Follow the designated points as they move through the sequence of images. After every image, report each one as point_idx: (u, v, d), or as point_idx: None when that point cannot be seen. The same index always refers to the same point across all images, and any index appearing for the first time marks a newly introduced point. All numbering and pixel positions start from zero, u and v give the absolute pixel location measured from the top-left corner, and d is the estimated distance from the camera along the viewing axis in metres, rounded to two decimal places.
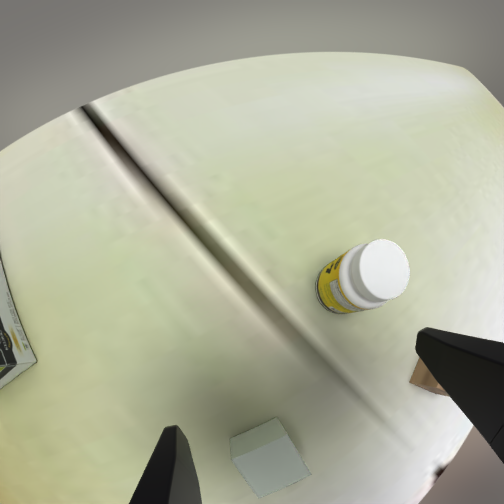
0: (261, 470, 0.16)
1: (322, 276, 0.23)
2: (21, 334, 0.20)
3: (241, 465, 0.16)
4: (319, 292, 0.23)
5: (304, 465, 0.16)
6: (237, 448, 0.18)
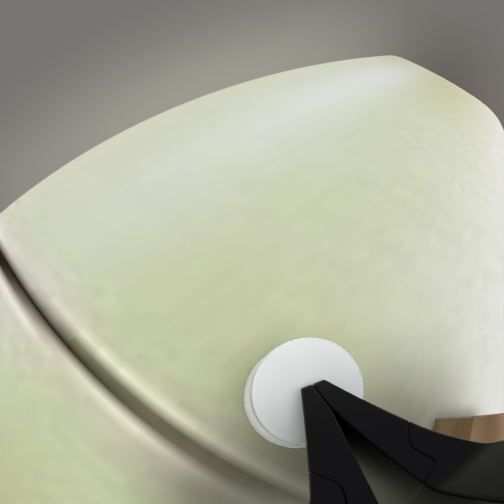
0: None
1: None
2: None
3: None
4: None
5: None
6: None
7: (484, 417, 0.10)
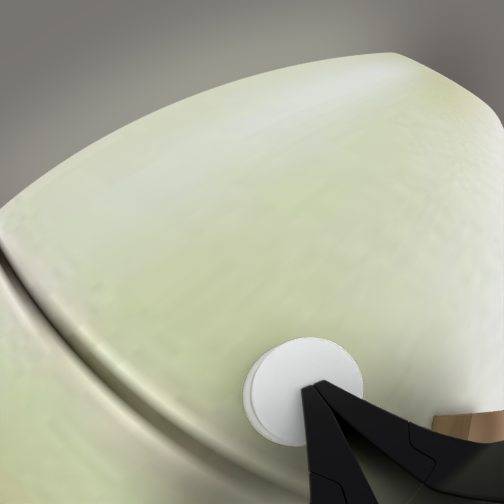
0: None
1: None
2: None
3: None
4: None
5: None
6: None
7: (482, 414, 0.11)
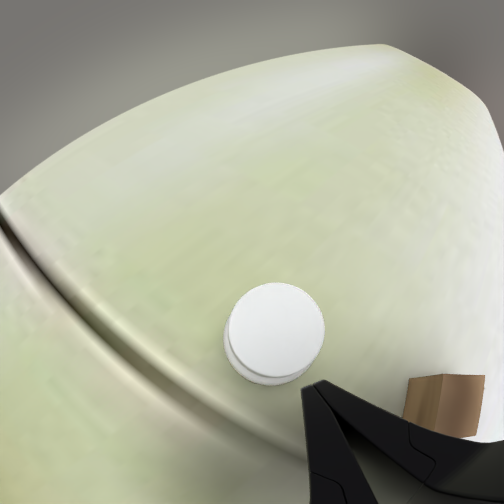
0: None
1: None
2: None
3: None
4: None
5: None
6: None
7: (455, 375, 0.14)
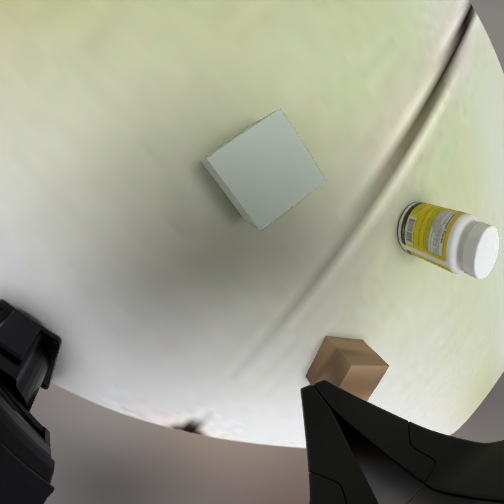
0: (267, 152, 0.13)
1: (434, 205, 0.20)
2: None
3: (272, 123, 0.13)
4: (419, 205, 0.21)
5: (277, 215, 0.14)
6: None
7: (382, 376, 0.21)
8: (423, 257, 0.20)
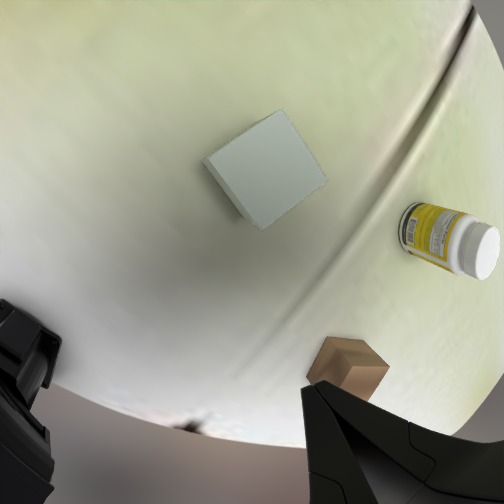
0: (268, 152, 0.13)
1: None
2: None
3: (274, 123, 0.13)
4: (421, 205, 0.21)
5: (279, 215, 0.14)
6: None
7: (382, 377, 0.21)
8: (424, 258, 0.20)
